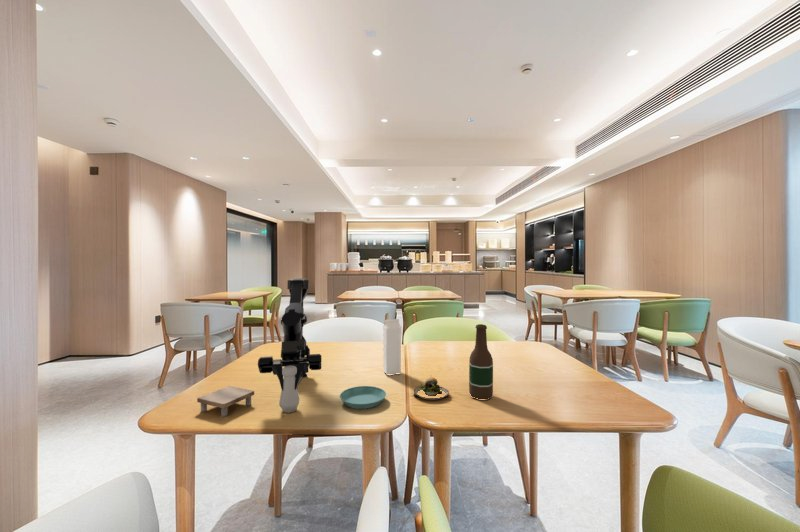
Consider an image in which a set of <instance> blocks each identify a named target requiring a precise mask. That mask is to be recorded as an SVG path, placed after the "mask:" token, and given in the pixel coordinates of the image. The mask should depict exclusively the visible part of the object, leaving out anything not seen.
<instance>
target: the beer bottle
mask: <svg viewBox="0 0 800 532" xmlns="http://www.w3.org/2000/svg"><path fill="white" fill-rule="evenodd" d="M475 329H476V330H475V345H474V349H472V351H471V353H470V354H469V355H470V356H469V362H468V365H469V366H468V368H469V369H468V370H469V373H468V374H469V375H468V381H469V382H468V387H469V389H468V390H469V393H470V394H471V396H472V397H475V398H478V399H488V398H490V397H492V396H493V395H494V360H493V357H492V354H491V353H490V351H489V348H488V341H487V340H488V339H487V329H488V327H487V325H485V324H476V325H475ZM470 394H469V395H470ZM471 396H470V397H471ZM472 397H471V398H472ZM492 398H493V397H492Z"/></svg>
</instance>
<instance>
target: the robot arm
mask: <svg viewBox="0 0 800 532" xmlns="http://www.w3.org/2000/svg"><path fill="white" fill-rule="evenodd" d="M286 286H287V287H286V288H287V290H289V294H290V295H289V303H288V304H289V305H287V307H286V308H285V309H284V314H282V315H281V316H282V317H281V319H280V325H281V326H282V331H283V341H281V350H280V359H279V358H277V359H275V358H273V356H272V355H271V356H260V357H259V358H258V361H257V366H258V367H257V368H258V372H259V374H271V373H272V374H273V376H276V377H277V378H278V381H279V384H280V389H281V391H283V380H284V376H283V375H282V369H283V368H284V367H285V366H290V365H292V366H296V367H297V373H296V374H295V378H296V381H295V390H296V389H298V387H299V385H300V382H301V380H302V379H303V378H305V377H308V374H307V373H309V370H311V371H318V370H319V371H321V370H322V355H321V353H312V354H311V349H310V348H309V344H307V340H306V338H305V336H304V335H303V333H304V331H303V330H304V325H306V323H307V322H308V317H307V315H306V314H307V313H305V311H304V310H305V309H304V301H305V299H306V297H307V296H308V290H310V280H307V278H303V277H302V278H298V277H297V278H295V277H294V278H293V277H292V278H291V279H288V280H287V285H286Z"/></svg>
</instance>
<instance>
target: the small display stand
mask: <svg viewBox="0 0 800 532" xmlns="http://www.w3.org/2000/svg"><path fill="white" fill-rule="evenodd" d="M254 395H255V390H250V389H247V388H240V387H237V386H231V385H228V386H226V387H222V388H220V389H218V390H215V391H212V392H209V393H207V394H204V395H202V396H198V397H197V399H196V400H197V401H196V402H197V403H199V404H200V412H201V413H204V412H206V411H208V406H213V407H216V408H220V412H221V414H220V416H221V418H225V417H227V416H228V407H230V406H232V405H234V404H237V403H239V402H242V401H243V400H245V406H251V405H252V396H254Z"/></svg>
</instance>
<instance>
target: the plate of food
mask: <svg viewBox="0 0 800 532" xmlns="http://www.w3.org/2000/svg"><path fill="white" fill-rule="evenodd" d="M420 390H423V391H424V392H425V394H426V395H428V396H436V395H437V394H442V391H444V392H445V393H446V395H445V396H444V397H440V398H425V397H421V396H418V394H417V393H418V391H420ZM440 390H442V391H440ZM414 395H415V396H417V397H419V398H421V399H425V400H441V399H443V398H446V397H448V396H449V397H450V393H449V390H448V389H447V388H445V387H442V386H441V385H439V383H438V380H437V378H435V377H432V376H430V377H428V378H426V379H425V381H424V385H422V384H420V386H417V387H415V388H414V390H413V396H414Z"/></svg>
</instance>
